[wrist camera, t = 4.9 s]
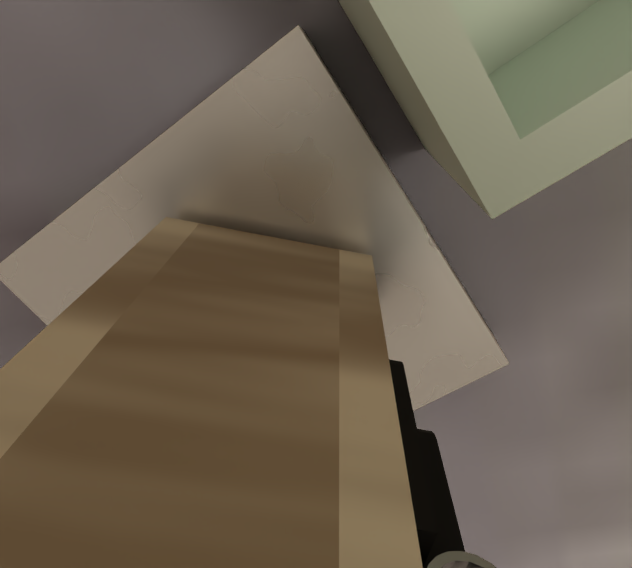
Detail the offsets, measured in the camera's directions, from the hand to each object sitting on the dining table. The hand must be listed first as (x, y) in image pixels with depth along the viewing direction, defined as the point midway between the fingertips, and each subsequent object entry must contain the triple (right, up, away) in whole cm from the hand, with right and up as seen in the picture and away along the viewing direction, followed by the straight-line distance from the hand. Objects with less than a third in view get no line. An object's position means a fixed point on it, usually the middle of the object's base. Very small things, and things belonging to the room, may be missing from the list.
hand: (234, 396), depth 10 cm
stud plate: (0, +2, +4) cm, 5 cm away
